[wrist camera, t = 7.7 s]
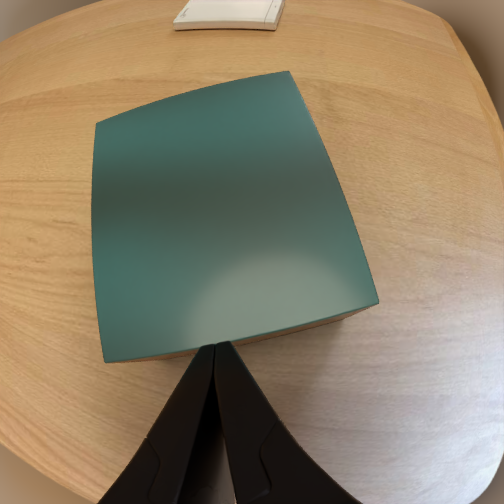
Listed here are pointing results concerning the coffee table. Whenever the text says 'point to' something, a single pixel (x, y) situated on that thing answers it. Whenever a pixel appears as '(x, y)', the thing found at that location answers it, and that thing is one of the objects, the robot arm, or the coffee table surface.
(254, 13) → the hard drive
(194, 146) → the lid
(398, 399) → the coffee table surface
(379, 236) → the coffee table surface
